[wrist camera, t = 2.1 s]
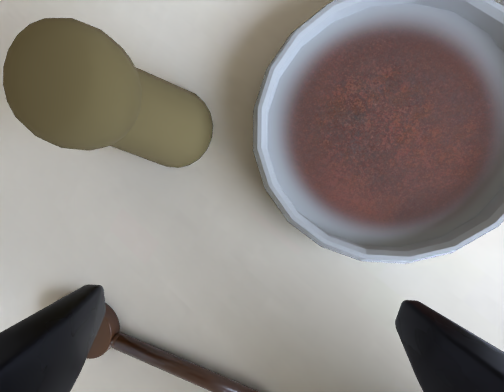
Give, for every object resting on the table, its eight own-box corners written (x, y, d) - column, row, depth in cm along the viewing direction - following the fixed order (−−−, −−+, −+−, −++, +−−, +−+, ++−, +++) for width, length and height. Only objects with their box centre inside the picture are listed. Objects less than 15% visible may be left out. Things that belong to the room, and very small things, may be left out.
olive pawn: (224, 150, 20) (137, 117, 9) (156, 179, 21) (5, 180, 10) (195, 75, 20) (74, -48, 9) (128, 108, 21) (-51, 33, 10)
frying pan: (875, -62, 12) (386, 326, 16) (761, -14, 15) (372, 304, 19) (578, -287, 13) (195, 128, 17) (527, -202, 16) (209, 136, 20)
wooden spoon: (285, 376, 20) (284, 388, 19) (267, 427, 21) (265, 442, 20) (63, 284, 23) (51, 290, 22) (53, 331, 24) (40, 339, 22)
